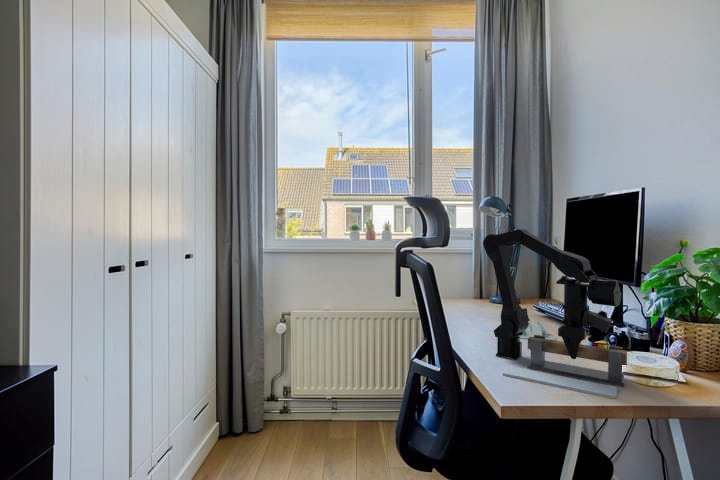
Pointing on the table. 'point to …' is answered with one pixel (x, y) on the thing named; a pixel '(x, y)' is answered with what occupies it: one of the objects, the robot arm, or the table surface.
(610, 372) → the dark grey u-shaped stand
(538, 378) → the blue-grey mat
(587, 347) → the walnut bar
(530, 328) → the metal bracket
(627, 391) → the table surface
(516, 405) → the table surface
